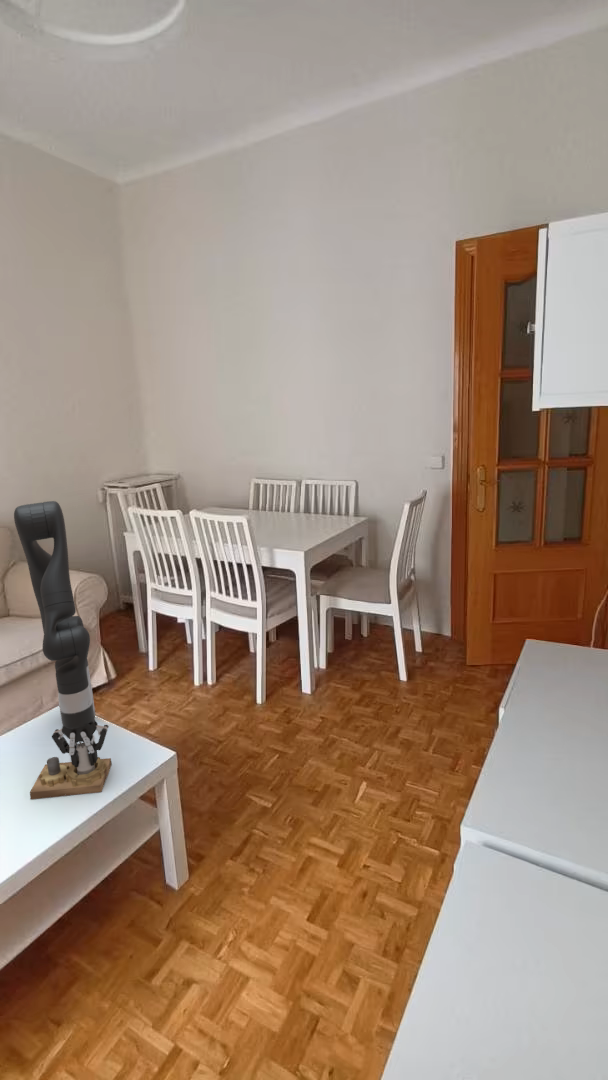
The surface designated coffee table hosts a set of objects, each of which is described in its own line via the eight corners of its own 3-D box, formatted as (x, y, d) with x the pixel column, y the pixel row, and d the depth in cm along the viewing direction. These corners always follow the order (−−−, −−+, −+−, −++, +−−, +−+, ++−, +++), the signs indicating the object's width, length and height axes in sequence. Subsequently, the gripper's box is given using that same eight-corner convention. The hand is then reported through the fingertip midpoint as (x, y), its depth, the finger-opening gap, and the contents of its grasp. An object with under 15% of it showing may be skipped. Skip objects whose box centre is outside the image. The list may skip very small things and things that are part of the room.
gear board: (46, 770, 147) (42, 747, 145) (112, 764, 148) (109, 741, 147) (30, 799, 136) (26, 774, 134) (101, 792, 138) (98, 767, 136)
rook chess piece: (89, 777, 139) (85, 749, 137) (73, 775, 140) (69, 748, 138) (99, 766, 143) (95, 739, 141) (83, 764, 144) (79, 737, 142)
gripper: (108, 693, 141) (116, 752, 145) (51, 698, 140) (61, 758, 144) (101, 709, 134) (110, 771, 138) (41, 714, 133) (51, 776, 137)
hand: (85, 764), depth 141 cm, fingers closed on rook chess piece, 3 cm apart
